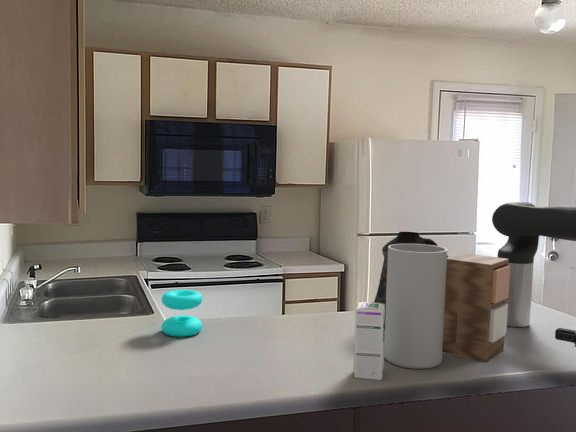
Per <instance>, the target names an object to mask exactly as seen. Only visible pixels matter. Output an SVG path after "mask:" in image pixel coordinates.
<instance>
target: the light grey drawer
mask: <svg viewBox="0 0 576 432" xmlns="http://www.w3.org/2000/svg"><path fill="white" fill-rule="evenodd" d="M507 311H508V304H505V303H501V304H499V305H496V306H494V307H492V308H490V326H489V342H492V343H493V342H495V341H497V340H498V339H500V338H502V337H503V336H504V337H505V336H506V335H507V327H508V326H507Z"/></svg>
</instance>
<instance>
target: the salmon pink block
mask: <svg viewBox="0 0 576 432" xmlns="http://www.w3.org/2000/svg"><path fill="white" fill-rule="evenodd" d="M509 277H510V266H505V265H502V266H499V267H496V268H493V273H492V291H491V303H497V302H499V301H501V300H504V299H506V298H508V294H509Z"/></svg>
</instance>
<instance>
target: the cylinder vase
mask: <svg viewBox="0 0 576 432" xmlns="http://www.w3.org/2000/svg"><path fill="white" fill-rule="evenodd" d="M447 255H448V248H447V247H443V246H438V245H437V246H434V245H425V244H394V245H389V246H388V265H387V290H386V316H385V331H384V359H385V360H387V361H388V362H389V363H391V364H393V365H395V366H399V367H402V368H407V369H415V370H417V369H419V370H420V369H421V370H423V369H431V368H435V367H437V366H439V365H440V364H441V363H442V360H443V352H442V346H443V326H444V306H445V286H446V265H447Z"/></svg>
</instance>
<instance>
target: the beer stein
mask: <svg viewBox="0 0 576 432" xmlns="http://www.w3.org/2000/svg"><path fill="white" fill-rule="evenodd" d="M394 244H425V245H434V246H438V244H437V242H435V241H434V240H433V239H431V238H426V237H425V238H424V237H422V236H420V233H419V232H417V231H416V232H415V231H399V232H398V234H397V236H396V237H394V238H392V239H391V240H390V241H387V243H386V244H384V246H383V247H382V249H381V250H382V255H383V262H382V267H381V272H380V278H379V284H378V286H377V291H376V294H375V298H374V301H373V302H377V303H383V304H385V316H386V290H387V265H388V246H389V245H394ZM447 257H449V255H448V254H447ZM384 332H385V325H384Z"/></svg>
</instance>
